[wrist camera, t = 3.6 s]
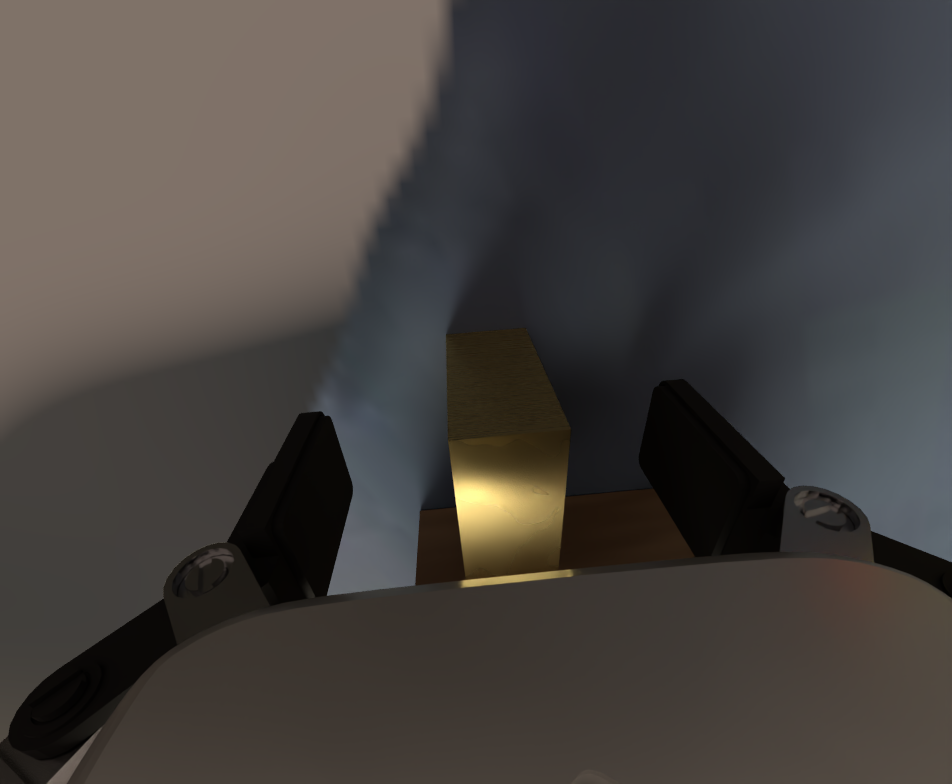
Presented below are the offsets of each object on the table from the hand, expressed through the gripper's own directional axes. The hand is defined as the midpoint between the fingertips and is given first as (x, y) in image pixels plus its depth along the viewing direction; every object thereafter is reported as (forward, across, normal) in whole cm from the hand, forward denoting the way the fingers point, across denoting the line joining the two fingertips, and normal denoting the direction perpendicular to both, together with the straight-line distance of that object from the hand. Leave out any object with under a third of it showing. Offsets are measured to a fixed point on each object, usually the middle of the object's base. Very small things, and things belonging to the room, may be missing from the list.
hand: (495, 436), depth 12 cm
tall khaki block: (+2, 0, 0) cm, 2 cm away
